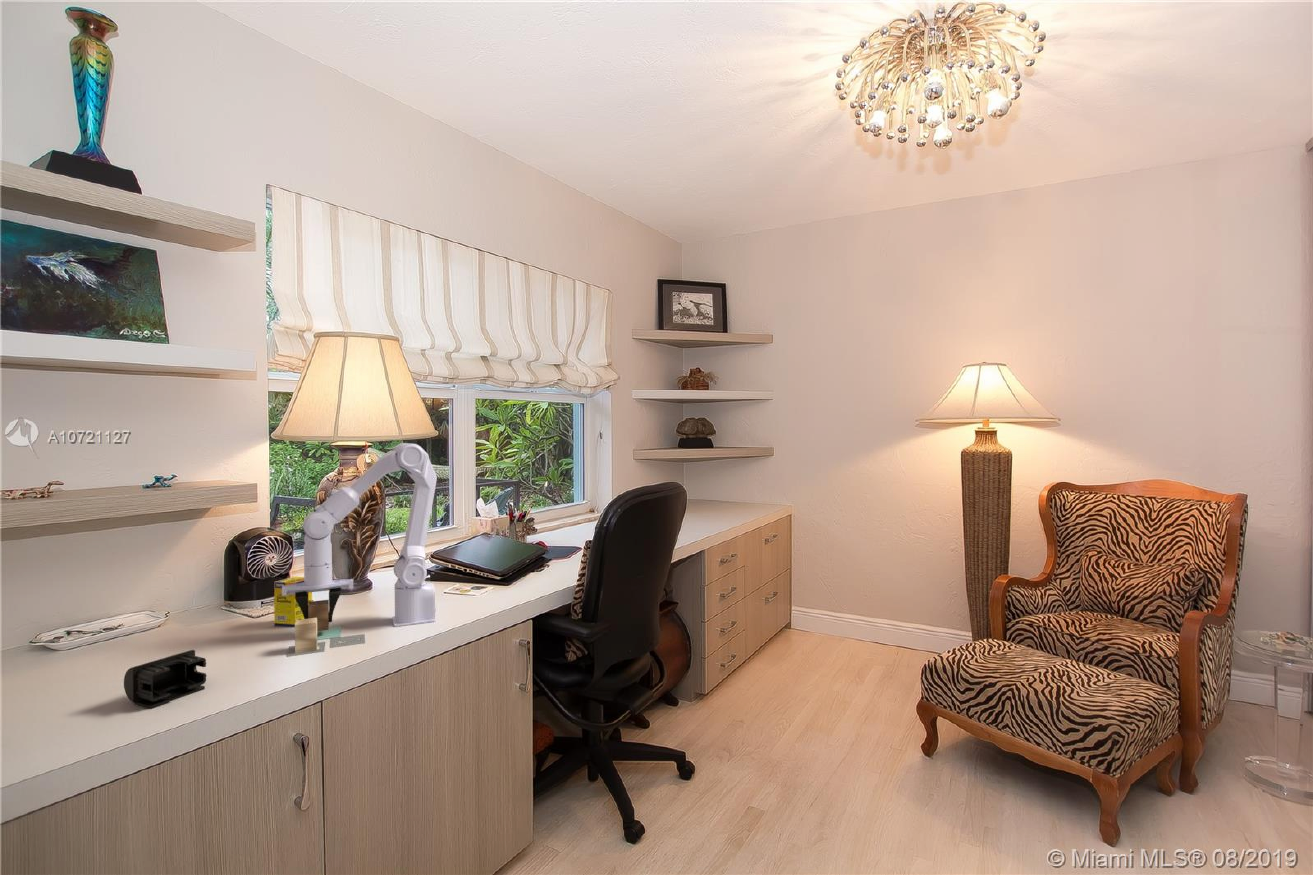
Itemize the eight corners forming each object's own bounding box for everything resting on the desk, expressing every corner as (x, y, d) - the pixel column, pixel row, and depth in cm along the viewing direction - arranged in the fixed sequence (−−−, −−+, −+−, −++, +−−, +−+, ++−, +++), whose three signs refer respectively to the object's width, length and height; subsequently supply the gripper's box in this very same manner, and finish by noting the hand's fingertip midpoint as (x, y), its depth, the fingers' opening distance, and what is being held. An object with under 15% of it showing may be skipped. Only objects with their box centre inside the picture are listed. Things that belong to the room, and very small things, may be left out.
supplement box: (295, 628, 153) (294, 582, 153) (273, 626, 154) (273, 581, 154) (313, 620, 159) (312, 577, 159) (292, 619, 160) (291, 576, 160)
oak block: (317, 644, 140) (317, 617, 140) (316, 650, 136) (316, 622, 136) (296, 647, 138) (296, 620, 138) (295, 653, 135) (294, 625, 135)
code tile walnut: (364, 634, 147) (364, 633, 147) (365, 643, 141) (365, 643, 141) (330, 639, 144) (330, 638, 144) (329, 648, 138) (329, 647, 138)
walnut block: (328, 624, 150) (328, 599, 149) (328, 629, 146) (328, 604, 146) (309, 627, 148) (309, 601, 148) (308, 632, 144) (308, 606, 144)
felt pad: (341, 627, 153) (340, 625, 153) (340, 638, 145) (340, 636, 145) (298, 632, 149) (298, 631, 149) (295, 643, 141) (295, 642, 141)
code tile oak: (325, 642, 142) (325, 641, 142) (324, 652, 136) (324, 651, 136) (289, 647, 139) (289, 646, 139) (286, 657, 133) (286, 656, 133)
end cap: (185, 683, 120) (185, 647, 120) (209, 689, 117) (208, 652, 117) (123, 704, 111) (122, 665, 111) (147, 711, 108) (146, 671, 108)
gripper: (352, 558, 154) (353, 614, 154) (283, 563, 147) (284, 622, 148) (353, 563, 147) (353, 621, 148) (280, 569, 141) (281, 630, 141)
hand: (318, 622), depth 147 cm, fingers closed on walnut block, 4 cm apart
